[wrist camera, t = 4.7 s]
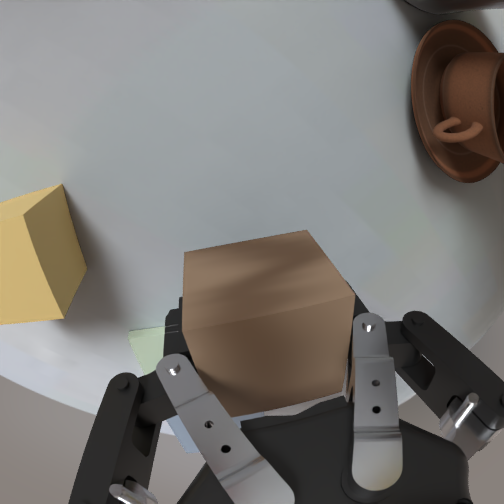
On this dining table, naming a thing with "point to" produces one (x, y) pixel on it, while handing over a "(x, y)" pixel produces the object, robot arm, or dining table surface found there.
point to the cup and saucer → (459, 100)
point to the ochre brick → (38, 257)
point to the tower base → (148, 355)
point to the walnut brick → (267, 322)
